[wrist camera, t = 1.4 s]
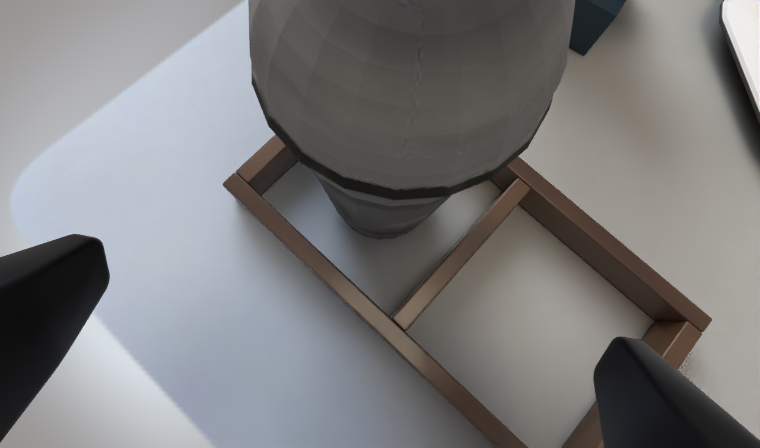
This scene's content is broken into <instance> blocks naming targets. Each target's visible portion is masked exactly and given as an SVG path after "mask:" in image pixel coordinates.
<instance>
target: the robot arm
mask: <svg viewBox="0 0 760 448" xmlns="http://www.w3.org/2000/svg"><path fill="white" fill-rule="evenodd" d="M109 278H110V274H109V269H108V265H107V260H106V256H105V251H104V246H103V243H102V242H101V241H100V240H99V239H98V238H95V237H90V236H85V235H80V234H72V235H68V236H65V237H62V238H59V239H56V240H53V241H50V242H46V243H43V244H40V245H37V246H34V247H31V248H28V249H25V250H22V251H19V252H16V253H12V254H9V255H6V256H3V257H0V442H1V441H2V440H3V438H4V437H5V436H6V434H7V433H8V432H9V430H10V429H11V428H12V426H13V425H14V424H15V422H16V421H17V420H18V419H19V417H20V416H21V415H22V413H23V412H24V411H25V409H26V408H27V407H28V405H29V404H30V403H31V402H32V400H33V399H34V398H35V396H36V395H37V394H38V392H39V391H40V390H41V389H42V387H43V386H44V385H45V383H46V382H47V381H48V379H49V378H50V377H51V375H52V374H53V373H54V371H55V370H56V368H57V367H58V366H59V364H60V363H61V361H62V360H63V358H64V357H65V355H66V354H67V352H68V351H69V349H70V347H71V346H72V344H73V342H74V341H75V339H76V338H77V336H78V334H79V333H80V331H81V329H82V328H83V326H84V325H85V323H86V321H87V320H88V318H89V317H90V315H91V313H92V312H93V310H94V308H95V307H96V305H97V304H98V302H99V300H100V299H101V297H102V295H103V294H104V292H105V291H106V289H107V287H108V284H109ZM594 387H595V393H596V400H597V406H598V413H599V419H600V426H601V432H602V438H603V445H604V448H760V440H759V439H758V438H756V437H755V436H754V435H753V434H752V433H750V432H749V431H748V430H747V429H746V428H745V427H743V426H742V425H741V424H740V423H739V422H738V421H736V420H735V419H734V418H733V417H732V416H730V415H729V414H728V413H727V412H726V411H725V410H723V409H722V408H721V407H720V406H719V405H718V404H716V403H715V402H714V401H713V400H712V399H710V398H709V397H708V396H707V395H706V394H705V393H703V392H702V391H701V390H700V389H699V388H698V387H696V386H695V385H694V384H693V383H692V382H691V381H689V380H688V379H687V378H686V377H685V376H683V375H682V374H681V373H680V372H679V371H678V370H676V369H675V368H674V367H673V366H672V365H671V364H669V363H668V362H667V361H666V360H665V359H663V358H662V357H661V356H660V355H659V354H658V353H656V352H655V351H654V350H653V349H652V348H651V347H649V346H648V345H647V344H646V343H644V342H643V341H641V340H637V339H632V338H626V337H616V338H615V339H613V340H612V341H611V343H610V345H609V346H608V348H607V349H606V351H605V353H604V354H603V356H602V357H601V359H600V361H599V362H598V364H597V365H596V367H595V370H594Z"/></svg>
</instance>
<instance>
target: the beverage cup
mask: <svg viewBox="0 0 760 448" xmlns="http://www.w3.org/2000/svg"><path fill="white" fill-rule="evenodd" d="M574 7H575V0H249V40H250V57H251V63H252V85H253V88H254V90H255V93H256V95H257V98H258V100H259V103H260V105H261V108H262V110H263V113H264V115H265V118H266V121H267V123H268V126H269V127H270V128H271V129H272V130H273V132H274V133H275V134H276V135H277V136H278V137H279V139H280V140H281V141H282V142H283V143H284V144H285V145H286V147H287V148H288V149H289V150H290V151H291V152H292V154H293V155H294V156H295V157H296V158H297V159H298V160H299V162H300V163H302V164H304V165H305V166H307V167H309V168H310V169H311V170H312V171H313V172H314V173H315V174H316V176H317V177H318V179H319V181H320V182H321V184H322V186H323V187H324V189H325V191H326V193H327V194H328V196H329V198H330V199H331V201H332V203H333V204H334V206H335V208H336V210H337V211H338V212H339V214H340V215H341V216H342V217H343V218H344V219H345V221H346V222H347V223H348V224H349V225H350V226H351V227H352V229H354V230H356V231H357V232H359V233H361V234H362V235H364V236H367V237H371V238H375V239H391V238H396V237H398V236H401V235H403V234H405V233H407V232H409V231H410V230H413V229H414V228H415V227H416V226H418V225H419V224H420V223H421V222H422V221H423V220H425V219H426V218H427V217H428V216H429V215H430V214H431V213H432V212H434V211H435V210H436V209H437V208H438V207H439V206H440V205H441V204H442V203H443V202H445V201H446V200H447V199H448V198H449V197H450V196H451V195H452V194H455V193H457V192H459V191H462V190H464V189H467V188H469V187H472V186H474V185H477V184H479V183H482V182H484V181H487V180H489V179H492V178H493V177H494V176H495V175H497V174H498V173H499V172H500V171H501V170H502V169H504V168H505V167H506V166H507V165H508V164H509V163H511V162H512V161H513V160H514V159H515V158H516V157H518V156H519V155H520V154H521V153H522V152H523V151H524V150H526V149H527V148H528V146H529V144H530V142H531V141H532V139H533V137H534V135H535V134H536V132H537V130H538V128H539V126H540V125H541V123H542V121H543V119H544V118H545V116H546V114H547V112H548V111H549V108H550V105H551V102H552V97H553V94H554V92H555V90H556V89H557V87H558V85H559V83H560V80H561V78H562V75H563V72H564V70H565V67H566V62H567V55H568V49H569V42H570V35H571V29H572V22H573V14H574Z"/></svg>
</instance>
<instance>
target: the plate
mask: <svg viewBox="0 0 760 448" xmlns="http://www.w3.org/2000/svg"><path fill="white" fill-rule="evenodd" d="M719 23H720V26H721V28H722V31H723V33H724V36H725V38H726V41H727V43H728V46H729V48H730V51H731V53H732V56H733V58H734V61H735V63H736V66H737V68H738V71H739V74H740V76H741V79H742V81H743V84H744V86H745V89H746V91H747V94H748V96H749V99H750V101H751V104H752V106H753V109H754V111H755V114H756V116H757V119H758V121H759V124H760V0H723V2H722V3H721V5H720V16H719Z"/></svg>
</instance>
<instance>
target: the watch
mask: <svg viewBox="0 0 760 448" xmlns="http://www.w3.org/2000/svg"><path fill="white" fill-rule="evenodd" d="M625 1H626V0H575V7H574V14H573V22H572V29H571V35H570V42H569V48H571V49H573V50H575V51H576V52H578V53H580V54H582V55H583V56H584V55H585V54H586V53H587V52H588V51H589V49H590V48H591V47H592V46H593V44H594V43H595V42H596V41H597V40H598V38H599V37H600V36H601V35H602V33H603V32H604V31H605V30H606V29H607V27H608V26H609V25H610V24H611V22H612V21H613V20H614V19H615V18H616V16H617V15H618V13H619V11H620V10H621V8H622V6H623V5H624V3H625Z"/></svg>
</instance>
